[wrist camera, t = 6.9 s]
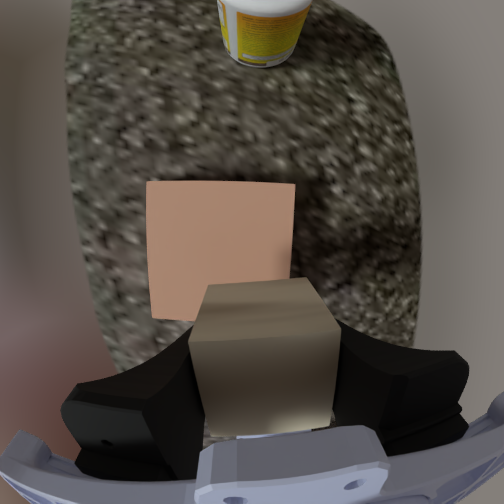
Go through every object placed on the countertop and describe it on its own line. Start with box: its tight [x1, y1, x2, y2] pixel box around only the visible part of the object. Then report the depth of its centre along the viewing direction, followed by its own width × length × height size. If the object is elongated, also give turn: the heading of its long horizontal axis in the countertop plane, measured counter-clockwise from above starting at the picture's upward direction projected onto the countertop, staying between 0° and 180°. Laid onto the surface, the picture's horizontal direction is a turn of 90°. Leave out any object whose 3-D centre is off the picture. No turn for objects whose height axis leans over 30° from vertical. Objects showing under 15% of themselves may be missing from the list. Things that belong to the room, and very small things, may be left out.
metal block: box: [188, 277, 341, 436], centre depth 11 cm, size 4×4×5 cm
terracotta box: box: [146, 181, 295, 321], centre depth 19 cm, size 9×9×4 cm
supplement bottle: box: [217, 0, 312, 68], centre depth 12 cm, size 6×6×10 cm
